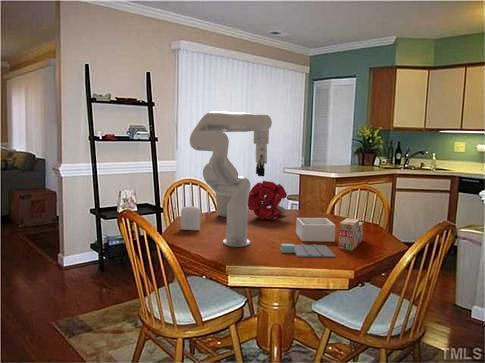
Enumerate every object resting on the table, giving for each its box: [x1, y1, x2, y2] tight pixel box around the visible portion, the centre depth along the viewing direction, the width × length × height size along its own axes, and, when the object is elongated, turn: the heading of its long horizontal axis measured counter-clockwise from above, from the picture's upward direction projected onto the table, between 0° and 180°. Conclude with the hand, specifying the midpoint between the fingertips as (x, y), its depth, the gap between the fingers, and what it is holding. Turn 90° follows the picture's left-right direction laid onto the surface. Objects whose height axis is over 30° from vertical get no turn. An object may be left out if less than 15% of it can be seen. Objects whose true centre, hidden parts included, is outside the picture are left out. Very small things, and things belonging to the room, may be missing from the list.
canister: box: [214, 191, 232, 218], centre depth 250 cm, size 18×18×21 cm
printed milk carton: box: [337, 217, 364, 251], centre depth 193 cm, size 21×6×12 cm, turn 151°
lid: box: [280, 243, 337, 258], centre depth 180 cm, size 22×16×3 cm
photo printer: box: [180, 205, 201, 232], centre depth 214 cm, size 10×4×12 cm, turn 84°
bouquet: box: [248, 180, 288, 220], centre depth 247 cm, size 22×24×30 cm
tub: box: [295, 217, 337, 242], centre depth 205 cm, size 16×16×8 cm
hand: (260, 175), depth 205 cm, fingers open, 9 cm apart
